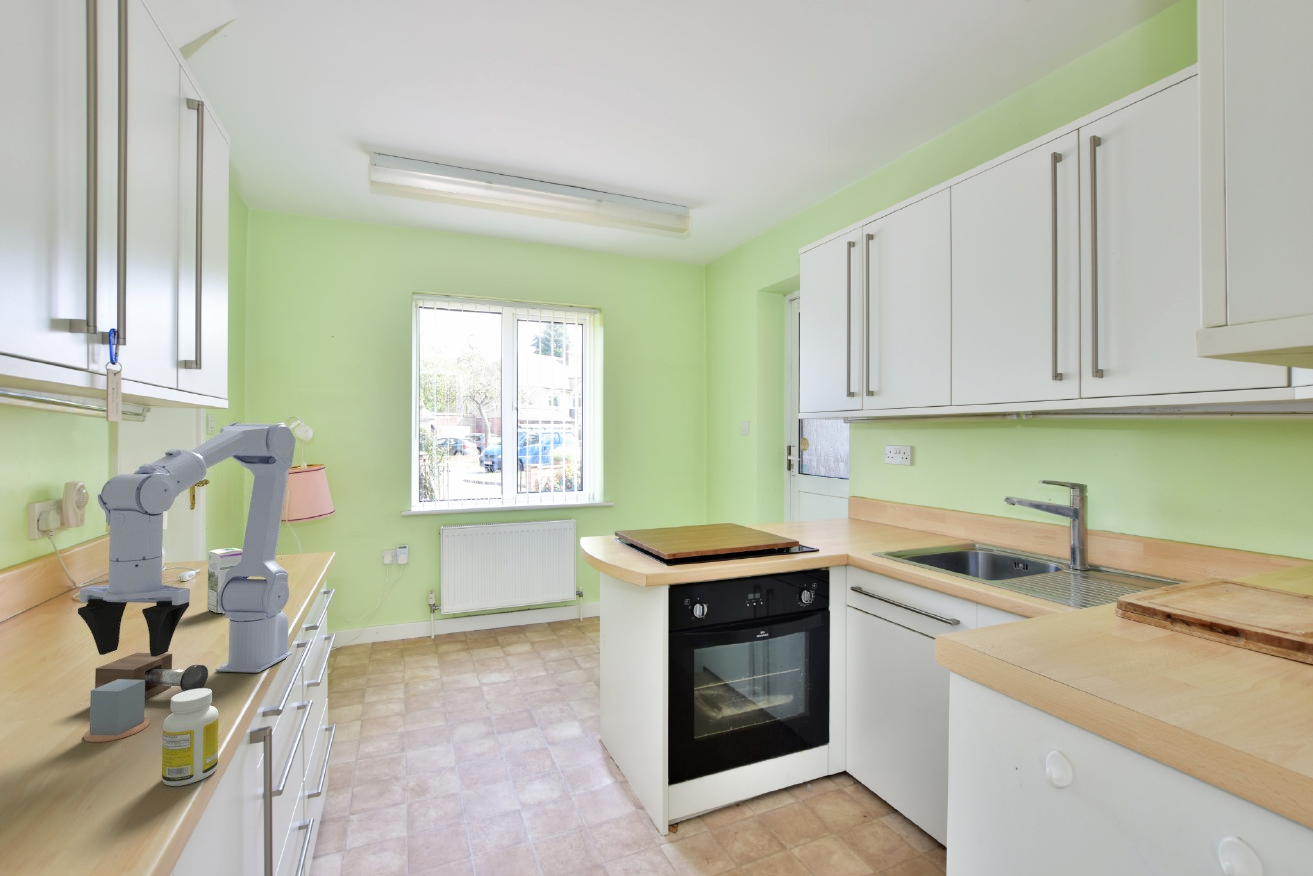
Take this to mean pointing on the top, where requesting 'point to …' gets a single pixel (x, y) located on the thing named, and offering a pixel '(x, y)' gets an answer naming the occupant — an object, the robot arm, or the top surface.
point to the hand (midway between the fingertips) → (133, 653)
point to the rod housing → (134, 670)
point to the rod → (178, 677)
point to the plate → (112, 737)
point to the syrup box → (219, 572)
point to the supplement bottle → (190, 738)
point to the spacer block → (117, 707)
